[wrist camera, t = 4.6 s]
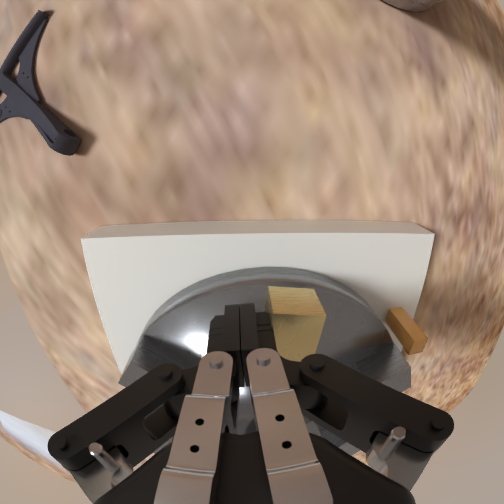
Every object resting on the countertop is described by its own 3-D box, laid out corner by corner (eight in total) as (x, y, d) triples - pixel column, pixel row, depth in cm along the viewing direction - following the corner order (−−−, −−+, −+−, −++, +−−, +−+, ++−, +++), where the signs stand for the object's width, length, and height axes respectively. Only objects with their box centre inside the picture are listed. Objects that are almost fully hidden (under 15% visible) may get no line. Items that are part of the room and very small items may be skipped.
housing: (100, 225, 18) (46, 262, 11) (413, 222, 19) (470, 254, 12) (159, 422, 27) (149, 468, 20) (355, 414, 27) (371, 458, 21)
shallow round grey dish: (121, 253, 15) (83, 292, 11) (417, 276, 17) (457, 312, 12) (155, 430, 23) (147, 468, 18) (340, 435, 24) (350, 470, 19)
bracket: (47, 219, 18) (28, 229, 16) (-23, 138, 14) (-40, 141, 12) (140, 68, 15) (126, 58, 12) (46, 13, 11) (31, 5, 8)
